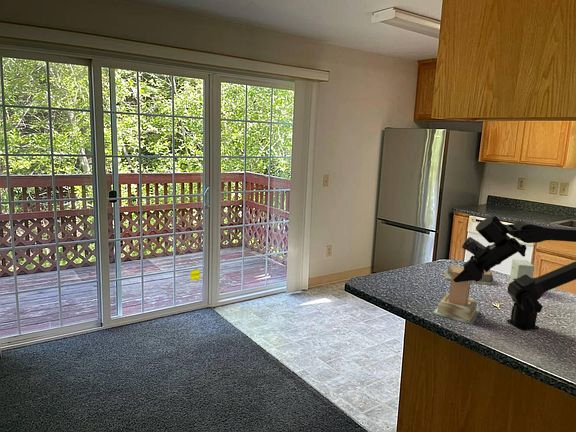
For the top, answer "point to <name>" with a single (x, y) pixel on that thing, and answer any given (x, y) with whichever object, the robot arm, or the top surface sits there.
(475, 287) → the top surface
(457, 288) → the column block
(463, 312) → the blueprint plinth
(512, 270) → the small box
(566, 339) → the top surface
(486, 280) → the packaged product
